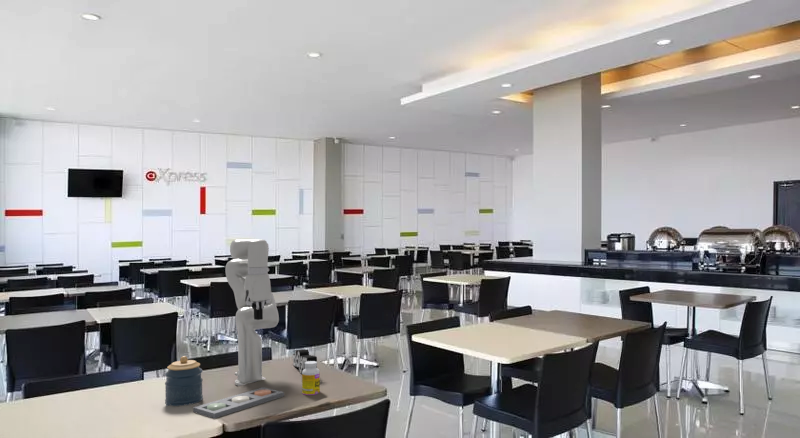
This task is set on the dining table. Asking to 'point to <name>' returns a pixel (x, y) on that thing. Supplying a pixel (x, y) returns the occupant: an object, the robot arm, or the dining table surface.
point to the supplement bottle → (310, 379)
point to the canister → (183, 383)
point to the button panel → (234, 406)
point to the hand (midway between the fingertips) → (258, 319)
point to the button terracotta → (262, 392)
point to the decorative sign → (302, 359)
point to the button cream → (240, 399)
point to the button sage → (216, 406)
